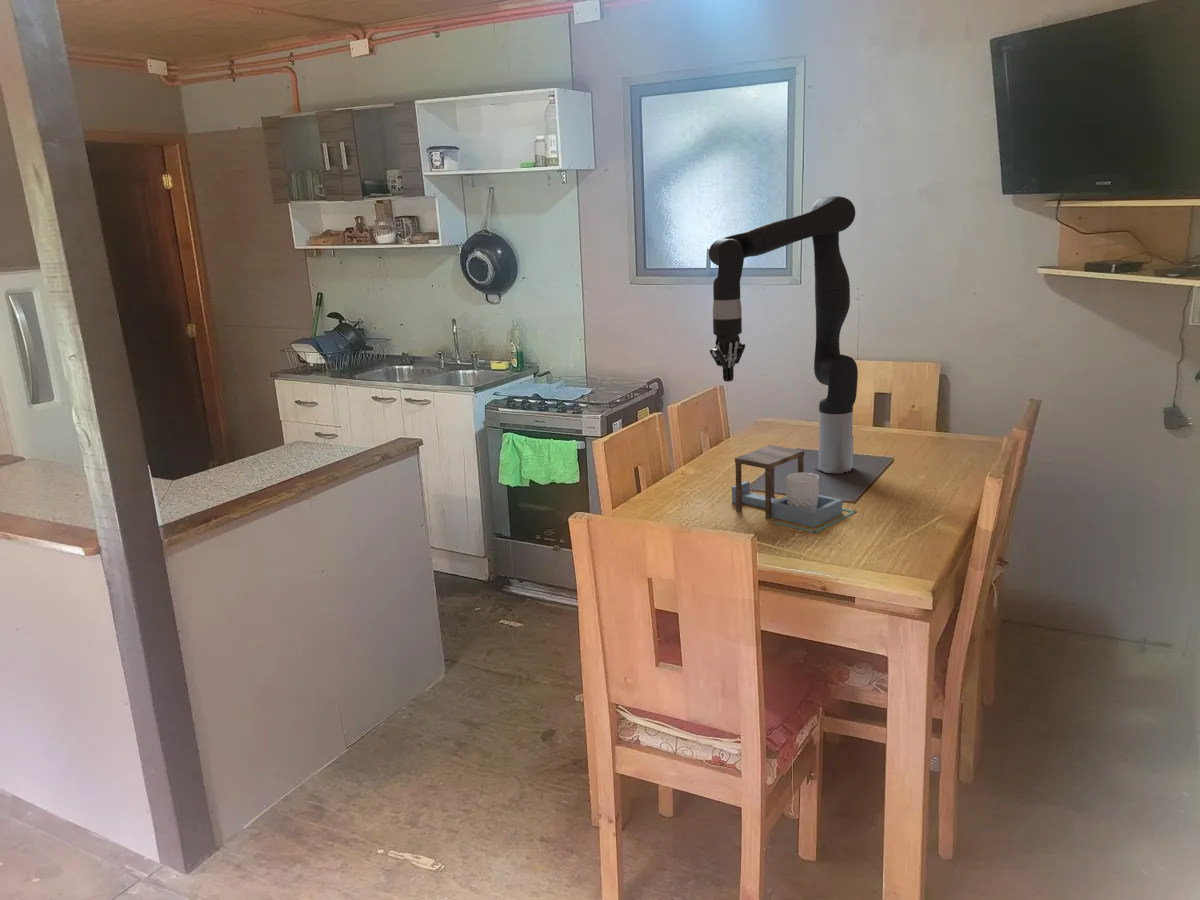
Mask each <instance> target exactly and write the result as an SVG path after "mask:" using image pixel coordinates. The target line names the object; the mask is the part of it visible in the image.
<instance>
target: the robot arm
mask: <svg viewBox="0 0 1200 900" xmlns="http://www.w3.org/2000/svg"><path fill="white" fill-rule="evenodd" d="M855 217H856V207H855V205H854V203H853V202H852V201H851V200H850V199H849V198H846V197H845V196H844V197H843V196H839V195H838V196H825V197H820V198H818V199H817V200H816V201H815V202H814V203H813V204H812V207H811V209H810V211H809V212H806V213H802V214H800V215H796V216H792V217H788V218H784V219H780V220H775V221H771V222H769V223H765V224H762V225H759V226H756V227H754V228H752V229H749V230H747V231H744V232H741V233H736V234H731V235H728V236H725V237H721V238H719V239H717V240H715V241H714V242H713V243H711V245H710V247H709V249H708V256H709V261H711V262H712V263H713V264H715V266H718V268H717V269H718V270H717V277H715V278H714V280H713V286H712V287H713V288H712V290H713V292H712V293H713V296H712V297H713V303H712V329H713V331H712V332H713V335H715V337H716V340H715V346H714V347H713V348H710V349H709V354H710V355H711V357H712V359H713V361H714V362H715V364H716V366H718V367H721V368H722V379H723V381H724V382H729V383H730V382H733V381H734V370H735V369H734V368H735V366H736V365H737V364H739V363H740V361H741V358H742V356H743V353H744V351H745V348H746V343H742V342H741V341H740V340H741V338H740V335H741V334H742V331H743V329H742V328H743V326H742V325H743V324H742V323H743V322H742V312H743V311H742V302H741V280H742V279H741V278H742V275H743V269H744V262H745V259H746V258H750V257H757V256H761V255H764V254H767V253H770V252H772V251H775V250H777V249H780V248H783V247H785V246H788V245H791V244H793V243H796V242H799V241H803V240H805V239H809V238H812V244H813V253H814V254H813V255H814V256H813V257H814V263H813V264H814V301H815V302H814V303H815V347H814V348H815V350H814V359H813V370H814V376H815V379H816V380H817V381H818V382H819V383H820V384H822V385H825V386H827V396H826V398H823V399H821V400H820V401H819V403H818V463H817V464H818V468H819V469H818V470H819V471H820V470H821V471H820V472H822V471H823V473H827V474H845V473H844V472H846V473H849V472H851V471H852V470H853V467H854V465H853V464H854V462H853V460H854V435H853V430H854V429H853V425H854V424H853V420H854V419H853V418H854V415H853V414H854V411H853V410H854V405H855V403H856V400H857V393H858V377H859V376H858V375H859V371H858V365H857V363H856V360H855V359H854V358H853V357H851V356H849V355H846V354H845V355H844V354H841V350H840V334H841V330H842V327H843V325H844V322H845V321H846V319H847V316H848V314H849V310H850V306H851V305H850V304H851V289H850V288H851V284H850V277H849V275H848V271H847V267H846V266H845V263H844V261H843V260H844V259H843V257H842V255H841V251H840V232H843V231H845V230H846V229H849V227H851V225H852V224H853V223H854V220H855ZM851 469H852V470H851ZM848 471H849V472H848Z"/></svg>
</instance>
